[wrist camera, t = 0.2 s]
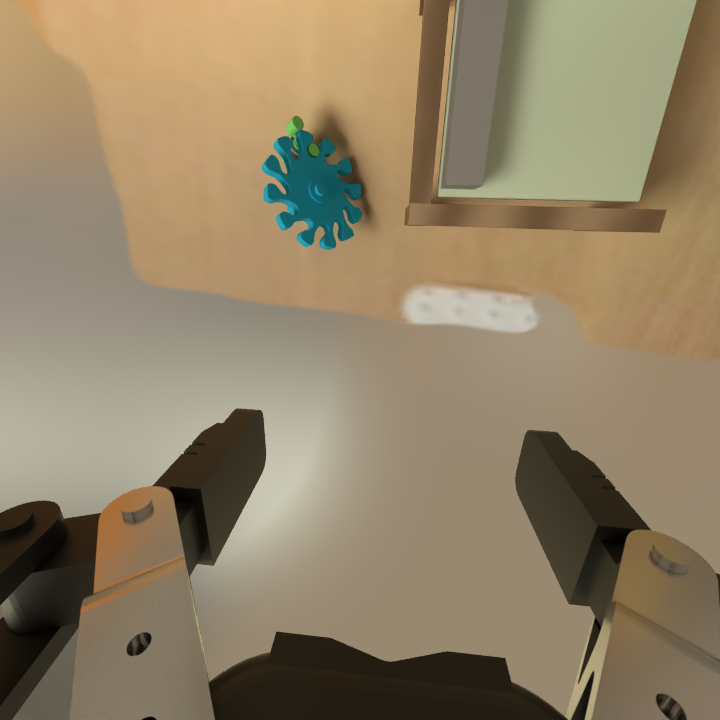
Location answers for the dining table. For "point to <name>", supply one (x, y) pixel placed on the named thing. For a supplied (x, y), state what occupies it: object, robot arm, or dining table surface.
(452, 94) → the trapdoor
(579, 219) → the stand
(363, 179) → the dining table surface
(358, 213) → the teal piece
